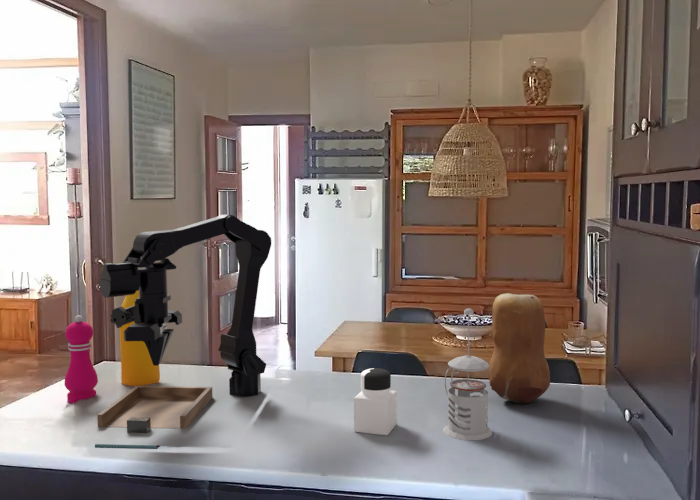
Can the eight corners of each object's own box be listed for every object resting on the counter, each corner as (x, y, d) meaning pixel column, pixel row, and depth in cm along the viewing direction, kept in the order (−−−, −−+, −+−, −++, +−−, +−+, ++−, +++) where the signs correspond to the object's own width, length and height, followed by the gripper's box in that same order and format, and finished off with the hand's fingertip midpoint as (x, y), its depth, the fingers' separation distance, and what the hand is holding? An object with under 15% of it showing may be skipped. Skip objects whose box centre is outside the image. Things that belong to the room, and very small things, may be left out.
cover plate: (171, 436, 133) (170, 416, 132) (156, 451, 125) (156, 431, 124) (113, 435, 134) (112, 415, 133) (95, 450, 126) (94, 429, 125)
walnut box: (212, 401, 153) (212, 386, 152) (185, 433, 133) (184, 416, 132) (136, 400, 154) (135, 385, 154) (97, 431, 134) (97, 414, 134)
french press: (462, 443, 126) (463, 314, 124) (428, 425, 137) (428, 305, 135) (502, 434, 131) (504, 309, 129) (466, 417, 141) (467, 301, 139)
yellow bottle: (167, 383, 167) (163, 269, 165) (134, 392, 161) (130, 273, 158) (147, 377, 174) (143, 267, 171) (114, 384, 167) (110, 270, 164)
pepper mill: (86, 405, 150) (83, 318, 149) (58, 403, 152) (54, 317, 150) (104, 396, 158) (101, 312, 156) (77, 394, 159) (74, 311, 157)
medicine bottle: (397, 424, 137) (397, 367, 136) (387, 436, 131) (387, 376, 130) (364, 420, 140) (364, 364, 139) (353, 432, 133) (353, 373, 132)
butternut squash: (522, 389, 161) (524, 287, 159) (562, 405, 149) (564, 295, 147) (475, 397, 155) (476, 291, 153) (512, 414, 143) (514, 299, 141)
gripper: (132, 285, 149) (135, 354, 150) (96, 299, 130) (100, 377, 132) (181, 285, 148) (184, 354, 149) (152, 299, 129) (155, 377, 131)
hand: (156, 365), depth 140 cm, fingers closed
